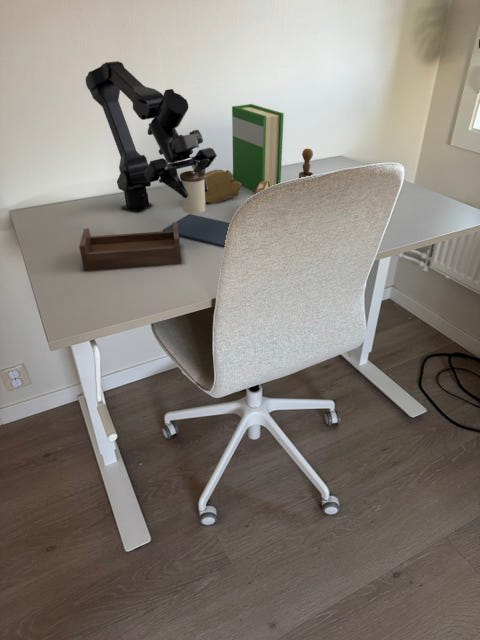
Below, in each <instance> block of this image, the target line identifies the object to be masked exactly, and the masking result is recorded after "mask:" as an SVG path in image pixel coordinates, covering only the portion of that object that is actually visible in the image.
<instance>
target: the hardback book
mask: <svg viewBox="0 0 480 640" xmlns="http://www.w3.org/2000/svg"><path fill="white" fill-rule="evenodd" d="M284 114H285V113H284V112H280V111H277V110H274V109H270V108H267V107H263V106H260V105H256V104H254V103H249V104H248V103H247V104H241V105H233V106H231V120H232V121H231V126H232V128H231V129H232V131H231V133H232V177H233V178H232V179H234V180H237V181H239V182H240V183H241V184H242V187H243V186H244V187H246V188H247V189H249V190H252V191H253V192H255V191H256V189H257V187H258V185H259V183H260V182H263V181H269V184H270V186H272V185H275V184H278V183H280V182H281V181H282V160H283V159H282V158H283V135H284V117H285V116H284Z"/></svg>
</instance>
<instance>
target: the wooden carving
mask: <svg viewBox="0 0 480 640" xmlns="http://www.w3.org/2000/svg"><path fill="white" fill-rule="evenodd" d="M206 181H207V188H208V191H207V192H205V203H209V204H216V203H220V202H223V201H225V200H227V199H228V198H236V197H238V196H239V193H240V190H241V188H242V187H243V185H242V184H241V183H240V182H239V181H237V180H234V179H233V173H231V171H230V170H227V169H226V171H225V170H223V169H214V170H210V171H207V172H206Z"/></svg>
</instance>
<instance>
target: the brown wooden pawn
mask: <svg viewBox="0 0 480 640" xmlns="http://www.w3.org/2000/svg"><path fill="white" fill-rule="evenodd" d="M301 156H302V158H303V161H304V163H303V164H302V171H300V172H298V179H299V178H301V177H306V176H311V175H313V176H314V173H313V172H311V171H310V170H311V166H312V165H311V163H310V161H311V160H312V158H313V156H314V152H313V150H312V148H304V149H303V151H302V153H301Z"/></svg>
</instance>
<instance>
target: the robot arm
mask: <svg viewBox="0 0 480 640" xmlns="http://www.w3.org/2000/svg"><path fill="white" fill-rule="evenodd" d="M85 85H86V88H87V89H88V90H89V92H90V94H91V97H92V99H93V100H94V101H95V102H97V103H98V104H99V105H100V106H101V108H102V110H103V112H104V115H105V119H106V121H107V123H108V126H109V129H110V133H111V135H112V138H113V140H114V142H115V145H116V148H117V151H118V154H119V156H120V160H119V165H118V169H119V175H118V178H117V180H116V184H117V188H118V189H119V190H120V191H122V192H123V194H124V200H125V201H124V202H125V205H123V206H122V210H123V209H124V210H129V211H131V212H136V213H140V212H142V211H144V210H146V209H148V208H151V206H152V203H151V202H150V199H149V194H148V192H147V188H148V187H151V186H152V183H153V182H157V181H158V183H160V184H161V183H162V184H164V185H166V186H168V187H169V188H171V189H172V190H173V191H174V192H176V193H177V194H179V195H180V196H181V197H182V196H183V197H184V198H187V197H188V195H187V193H186V190H185V188H184V186H183V184H182V183H181V179H180V176H179V174H178V170H179V169H183V168H184V169H185V168H187V167H191V168H192V171H200V172H203V173H204V174H205V179H204V182H205V192H207V191H208V188H207V181H206V173H207V172H206V171H207V170H206V169H208V168H210V166H211V164H212V163H213V162H214V160H215V159H216V158H217V156H218V155H217V153H216V151H215V150H214V148H212V147H206V148H201V149H199V150H198V151H197V152H196V154H195V156H191V155H193V153H194V149H196V148H200V144H203V142H204V139H203V138H204V137H203V135H202V134H201V131H200V130H199V129H195V130H192V131H190V132H189V134H185V135H183V134H179V133H178V130H177V129H176V128H178V127H179V126H180V125H181V123H182V121H183V119H184V117H185V116H186V114H187V112H188V110H189V103H188V101H187V99H186V98H184V96H182V95H181V94H180V93H176V92H175V91H174V89H173V88H169V89H165V90H164V92H163V93H162V92H160V91H159V90H157V89H155V88H152V87H148V86H146V85H144V84H143V83H141V81H140V80H138V79H137V78H136V77H135V76H134V75H133V74H132V73H131V72H130V71H129V70H127V68H125V65H124V64H123V62H122V61H118V60H117V61H108V62H107V61H106V62H104V63H102V64H101V65H100V66H99V67H97V68H94V69H93V70H89V71H88V73H87V75H86V76H85ZM121 93H123V94H124V95H125V96H126V97H127V98H128V99H129V100H130V102H131V103H132V110H133V111H134V113H135V114H136V115H137V117H138V118H139V119H140V120H142V121H144V120H150V119H151V120H150V122H149V123H148V128H147V135H148V136H153V137H154V140H155V141H156V143H157V145H158V147H159V150H158V152H157V153H159V156H160V155H161V156H163V157H164V158H158V159H153V160H150V161H149V163H148V159H147V157H146V155H144V154H140V153H139V152H138V150H137V148H136V145H135V143H134V140H133V137H132V135H131V132H130V129H129V126H128V123H127V121H126V118H125V114H124V112H123V110H122V106H121V103H120V101H119V98H120V94H121Z"/></svg>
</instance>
